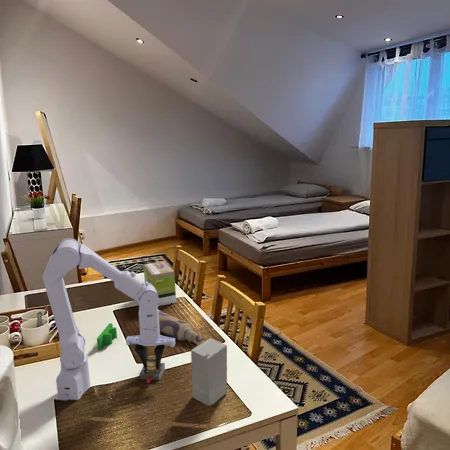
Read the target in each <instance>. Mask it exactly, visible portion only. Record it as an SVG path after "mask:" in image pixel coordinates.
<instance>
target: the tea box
mask: <svg viewBox="0 0 450 450" xmlns="http://www.w3.org/2000/svg"><path fill="white" fill-rule="evenodd" d="M175 276H176V275H175V270H173V269H172V268H171V266H170V265H169V264H168V263H167V262H166V261H165V260H161V261H157V262H151V263H146V264H143V277H144V282H148V283H151V284H152V285H153V286H154V287H155V289H156V291H157V294H158V298H159V303H158V307H162V306H165V305H171V303H172V304H175V303H177V295H176V294H177V293H176V291H177V290H176V277H175ZM161 305H162V306H161Z"/></svg>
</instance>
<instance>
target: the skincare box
mask: <svg viewBox="0 0 450 450" xmlns="http://www.w3.org/2000/svg"><path fill="white" fill-rule="evenodd" d="M190 354H191V355H190V361H191V362H190V363H191V384H192V385H191V389H192V390H191V391H192V393H191V395H192V398H193V399H195V400H197V401H199V402H200V403H202V404H204V405H206V406H208V407H209V406H213V405H214V404H215V403H216V402H218V401H219V400H220V399H221V398H222V397H224V395H226V394H227V393H228V385H227V384H228V345H227V344H225V343H223V342H220V341H218V340H216V339H215V338H213V337H209V338H208V339H206V340H205V341H202V342H200V344H198V345H197V346H195V347H193V348H192V349H191V350H190Z"/></svg>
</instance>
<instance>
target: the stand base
mask: <svg viewBox="0 0 450 450" xmlns="http://www.w3.org/2000/svg"><path fill="white" fill-rule="evenodd" d="M165 369H166V367H165V362H161V365H160V367H159V369H158V373H154V372H147V367H146V368H144V366H143V367H142V368H141V370H140V372H139V380H146V383H147V384H150V383H151V382H153V381H160V380H161V378H162V376H163V374H164V372H165Z"/></svg>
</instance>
